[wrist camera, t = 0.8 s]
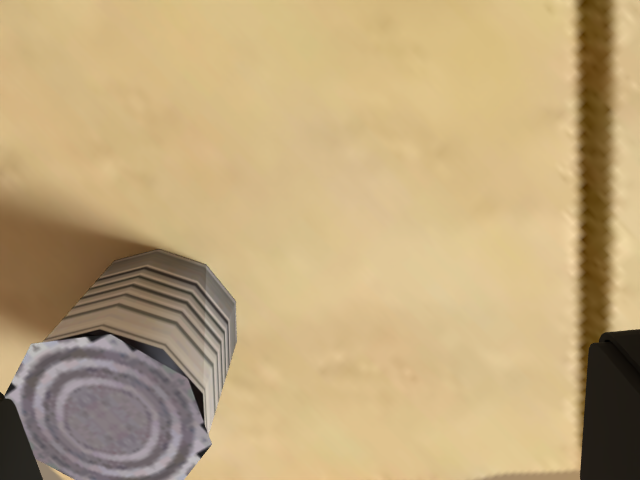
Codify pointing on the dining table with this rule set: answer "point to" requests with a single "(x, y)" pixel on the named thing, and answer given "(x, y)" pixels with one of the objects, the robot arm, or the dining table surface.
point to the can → (130, 372)
